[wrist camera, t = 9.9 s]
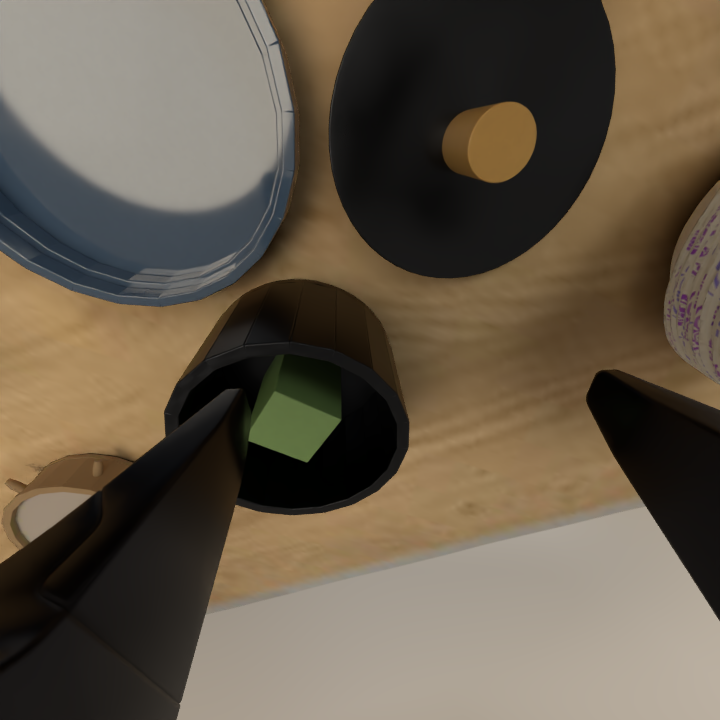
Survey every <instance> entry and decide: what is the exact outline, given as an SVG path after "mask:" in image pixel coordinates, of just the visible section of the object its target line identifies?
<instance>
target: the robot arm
mask: <svg viewBox="0 0 720 720" xmlns="http://www.w3.org/2000/svg"><path fill="white" fill-rule="evenodd" d="M586 402H587V405H588V407H589V409H590V411H591V413H592V415H593V417H594V419H595V421H596V423H597V425H598V427H599V429H600V431H601V433H602V435H603V436H604V438H605V440H606V442H607V444H608V446H609V448H610V450H611V452H612V454H613V456H614V457H615V459H616V460H617V462H618V464H619V465H620V467H621V468H622V470H623V472H624V473H625V475H626V476H627V478H628V479H629V481H630V482H631V484H632V486H633V487H634V489H635V490H636V492H637V493H638V495H639V496H640V498H641V499H642V501H643V503H644V504H645V506H646V507H647V509H648V510H649V512H650V513H651V515H652V516H653V518H654V520H655V521H656V523H657V524H658V526H659V527H660V529H661V531H662V532H663V533H664V535H665V537H666V538H667V540H668V541H669V543H670V545H671V546H672V548H673V549H674V550H675V552H676V554H677V555H678V557H679V559H680V560H681V562H682V563H683V565H684V566H685V568H686V569H687V571H688V572H689V574H690V576H691V577H692V579H693V580H694V582H695V583H696V585H697V586H698V588H699V590H700V591H701V593H702V594H703V596H704V597H705V599H706V600H707V602H708V604H709V605H710V607H711V608H712V610H713V611H714V613H715V614H716V616H717V618H718V619H719V621H720V410H718V409H716V408H713V407H711V406H708V405H705V404H703V403H700V402H698V401H695V400H693V399H690V398H688V397H685V396H683V395H680V394H678V393H675V392H673V391H670V390H668V389H665V388H663V387H660V386H658V385H655V384H652V383H650V382H647V381H645V380H642V379H640V378H637V377H635V376H632V375H630V374H627V373H625V372H622V371H620V370H615V369H613V370H601V371H598V372H597V373H596V375H595V377H594V379H593V381H592V383H591V386H590V388H589V390H588V392H587V395H586ZM250 427H251V411H250V408H249V404H248V400H247V397H246V393H245V391H244V390H243V389H241V388H237V389H226V390H225V391H223V392H222V393H221V394H220V395H218V396H217V397H216V398H214V399H213V400H212V401H211V402H209V403H208V404H207V405H206V406H204V407H203V408H202V409H201V410H199V411H198V412H197V413H196V414H194V415H193V416H192V417H191V418H189V419H188V420H187V421H186V422H184V423H183V424H182V425H180V426H179V427H178V428H177V429H175V430H174V431H173V432H172V433H170V434H169V435H168V436H167V437H165V438H164V439H163V440H162V441H160V442H159V443H158V444H157V445H155V446H154V447H153V448H152V449H150V450H149V451H148V452H146V453H145V454H144V455H143V456H141V457H140V458H139V459H138V460H136V461H135V462H134V463H133V464H131V465H130V466H129V467H128V468H126V469H125V470H124V471H123V472H121V473H120V474H119V475H117V476H116V477H115V478H114V479H112V480H111V481H110V482H109V483H107V484H106V485H105V486H104V487H103V488H102V491H101V490H99V491H97V492H96V493H95V494H93V495H92V496H91V497H90V498H88V499H87V500H86V501H85V502H83V503H82V504H81V505H79V506H78V507H77V508H76V509H74V510H73V511H72V512H70V513H69V514H68V515H66V516H65V517H64V518H63V519H61V520H60V521H59V522H57V523H56V524H55V525H53V526H52V527H51V528H49V529H48V530H47V531H45V532H44V533H43V534H41V535H40V536H38V537H37V538H36V539H34V540H33V541H31V542H30V543H29V544H27V545H26V546H25V547H23V548H22V549H20V550H19V551H18V552H16V553H15V554H13V555H12V556H11V557H9V558H8V559H6V560H5V561H4V562H2V563H1V564H0V720H176V719H177V716H178V712H179V708H180V704H179V703H180V702H181V700H182V697H183V693H184V689H185V686H186V682H187V679H188V675H189V671H190V668H191V664H192V660H193V657H194V653H195V649H196V646H197V642H198V639H199V635H200V631H201V627H202V624H203V620H204V617H205V613H206V610H207V606H208V602H209V599H210V595H211V591H212V588H213V584H214V580H215V577H216V573H217V570H218V566H219V562H220V559H221V555H222V551H223V548H224V544H225V541H226V537H227V533H228V530H229V526H230V522H231V519H232V515H233V512H234V508H235V504H236V501H237V497H238V493H239V490H240V486H241V482H242V478H243V473H244V467H245V461H246V454H247V447H248V441H249V434H250Z"/></svg>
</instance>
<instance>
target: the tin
mask: <svg viewBox="0 0 720 720" xmlns="http://www.w3.org/2000/svg"><path fill="white" fill-rule="evenodd" d="M285 354H292V355H298V356H303V357H308V358H313V359H319V360H324V361H329V362H331V363H333V364H335V365H337V366H339V367H341V421H340V423H339V424H338V425H337V426H336V428H335V429H334V430H333V431H332V433H331V434H330V435H329V436H328V437H327V439H326V440H325V441H324V442H323V444H322V445H321V446H320V447H319V449H318V450H317V451H316V452H315V454H314V455H313V456H312V457H311V459H310V460H309V461H308V462H304V461H301V460H299V459H296V458H293V457H291V456H288V455H285V454H282V453H280V452H277V451H274V450H272V449H269V448H266V447H264V446H261V445H258V444H255V443H253V442H250V441H248V447H247V454H246V461H245V467H244V473H243V478H242V482H241V486H240V490H239V493H238V497H237V501H236V504H235V505H239V506H242V507H245V508H249V509H252V510H255V511H259V512H260V511H261V512H265V513H275V514H284V515H302V514H314V513H323V512H324V513H325V512H328V511H332V510H335V509H339V508H343V507H346V506H350V505H352V504H355V503H357V502H359V501H360V500H362V499H364V498H366V497H368V496H370V495H371V494H373V493H375V492H377V491H378V490H379V489H380V488H381V487H382V486H384V485H385V484H386V483H387V482H388V481H389V480H390V479H391V478H392V477H393V476H394V475H395V474H396V473H397V471H398V469H399V467H400V465H401V463H402V461H403V459H404V457H405V454H406V452H407V450H408V447H409V418H408V414H407V410H406V406H405V402H404V398H403V394H402V390H401V386H400V382H399V378H398V374H397V370H396V366H395V361H394V357H393V353H392V349H391V346H390V344H389V341H388V338H387V335H386V333H385V330H384V328H383V327H382V325H381V323H380V321H379V320H378V318H377V317H376V316H375V315H374V313H373V312H372V311H371V310H370V309H369V308H368V307H367V306H366V305H365V304H364V303H363V302H361V301H360V300H359V299H357V298H356V297H355V296H353V295H351V294H350V293H348V292H346V291H344V290H342V289H340V288H337V287H335V286H332V285H329V284H326V283H322V282H318V281H311V280H295V279H291V280H282V281H276V282H272V283H268V284H265V285H262V286H260V287H257V288H255V289H253V290H251V291H249V292H247V293H246V294H244V295H243V296H241V297H240V298H239V299H238V300H236V301H235V302H234V303H233V304H232V305H231V306H230V307H229V308H228V309H227V311H226V312H225V313H223V314H222V316H221V317H220V319H219V320H218V322H217V323H216V325H215V326H214V328H213V329H212V331H211V332H210V334H209V335H208V337H207V338H206V340H205V341H204V343H203V344H202V346H201V347H200V349H199V351H198V352H197V354H196V355H195V357H194V358H193V360H192V361H191V363H190V364H189V366H188V367H187V369H186V370H185V372H184V373H183V375H182V376H181V378H180V379H179V381H178V382H177V384H176V386H175V388H174V390H173V393H172V395H171V397H170V399H169V402H168V404H167V406H166V408H165V411H164V418H165V434H166V437H167V436H168V435H169V434H170V433H172V432H173V431H174V430H175V429H177V428H178V427H179V426H180V425H182V424H183V423H184V422H186V421H187V420H188V419H189V418H191V417H192V416H193V415H194V414H196V413H197V412H198V411H199V410H201V409H202V408H203V407H204V406H206V405H207V404H208V403H209V402H211V401H212V400H213V399H214V398H216V397H217V396H218V395H220V394H221V393H222V392H223V391H225V390H226V389H237V388H241V389H243V390H244V391H245V393H246V397H247V400H248V404H249V408H250V411H251V415H252V412H253V409H254V406H255V403H256V400H257V396H258V393H259V390H260V387H261V384H262V381H263V377H264V375H265V373H266V372H267V370H268V368H269V366H270V365H271V363H272V361H273V360H274V358H275V356H276V355H285Z"/></svg>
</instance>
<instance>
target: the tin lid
mask: <svg viewBox="0 0 720 720" xmlns="http://www.w3.org/2000/svg"><path fill="white" fill-rule="evenodd" d="M615 73H616V68H615V55H614V44H613V40H612V35H611V30H610V25H609V21H608V19H607V16H606V13H605V10H604V8H603V5H602V2H601V0H374V1H373V2H372V3H371V5H370V6H369V7H368V9H367V10H366V12H365V14H364V15H363V17H362V19H361V20H360V22H359V24H358V25H357V27H356V29H355V30H354V33H353V35H352V37H351V39H350V42H349V44H348V46H347V48H346V50H345V53H344V55H343V58H342V61H341V64H340V67H339V70H338V74H337V77H336V80H335V85H334V90H333V95H332V100H331V107H330V117H329V153H330V161H331V169H332V173H333V177H334V182H335V186H336V189H337V192H338V195H339V198H340V200H341V203H342V206H343V208H344V210H345V212H346V214H347V215H348V217H349V219H350V221H351V223H352V224H353V226H354V227H355V229H356V230H357V232H358V233H359V234H360V236H361V237H362V238H363V239H364V240H365V241H366V243H367V244H368V245H369V246H370V247H371V248H372V249H373V250H374V251H376V252H377V253H378V254H379V255H380V256H382V257H383V258H384V259H386V260H387V261H389V262H391V263H392V264H394V265H395V266H397V267H400V268H402V269H404V270H406V271H409V272H412V273H415V274H418V275H422V276H427V277H434V278H459V277H468V276H472V275H476V274H480V273H484V272H487V271H489V270H492V269H495V268H498V267H500V266H502V265H504V264H506V263H508V262H510V261H512V260H513V259H515V258H517V257H518V256H520V255H521V254H523V253H524V252H526V251H527V250H529V249H530V248H531V247H533V246H534V245H535V244H536V243H538V242H539V241H540V240H541V239H542V238H543V237H545V236H546V235H547V234H548V233H549V232H550V231H551V230H552V229H553V228H554V227H555V226H556V225H557V223H558V222H559V221H560V220H561V219H562V218H563V217H564V215H565V214H566V213H567V212H568V210H569V209H570V208H571V206H572V205H573V203H574V202H575V201H576V199H577V198H578V196H579V195H580V193H581V191H582V190H583V188H584V186H585V185H586V183H587V181H588V179H589V178H590V175H591V173H592V171H593V169H594V167H595V165H596V163H597V161H598V158H599V155H600V153H601V150H602V147H603V144H604V142H605V139H606V135H607V131H608V127H609V123H610V119H611V115H612V108H613V101H614V95H615Z"/></svg>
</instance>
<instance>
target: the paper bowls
mask: <svg viewBox="0 0 720 720" xmlns="http://www.w3.org/2000/svg"><path fill="white" fill-rule="evenodd" d="M664 326H665V333H666V336H667V339H668V342H669V343H670V345H671V346H672V348H673V349H674V351H675V352H676V353H677V354H678V355H679V356H680V357H681V358H682V359H683V360H684V361H686V362H687V363H688V364H690V365H691V366H693V367H694V368H696V369H697V370H698V371H700V372H701V373H703V374H704V375H706V376H707V377H709V378H710V379H712V380H713V381H714V382H716V383H718V384H719V385H720V180H719V181H718V182H717V183H716V184H715V185H714V186H713V187H712V189H711V190H710V191H709V192H708V193H707V194H706V195H705V197H704V198H703V199H702V201H701V202H700V203H699V204H698V206H697V207H696V209H695V210H694V212H693V213H692V215H691V216H690V218H689V220H688V221H687V223H686V224H685V226H684V228H683V230H682V232H681V234H680V236H679V239H678V241H677V244H676V246H675V249H674V253H673V257H672V262H671V268H670V281H669V284H668V286H667V290H666V294H665V301H664Z"/></svg>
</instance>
